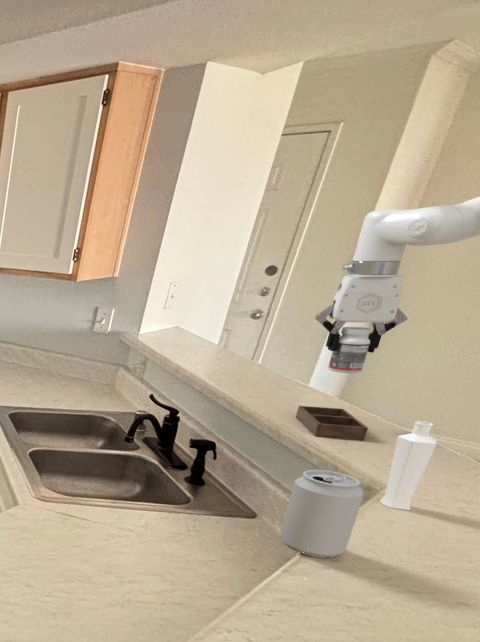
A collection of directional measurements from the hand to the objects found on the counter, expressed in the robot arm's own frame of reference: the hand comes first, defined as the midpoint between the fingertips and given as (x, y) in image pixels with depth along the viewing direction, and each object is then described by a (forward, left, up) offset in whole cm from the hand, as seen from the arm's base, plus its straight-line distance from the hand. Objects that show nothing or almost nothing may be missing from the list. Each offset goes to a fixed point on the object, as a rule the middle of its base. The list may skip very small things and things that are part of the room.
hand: (350, 350), depth 135 cm
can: (+20, +73, -19) cm, 78 cm away
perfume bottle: (+3, +49, -19) cm, 53 cm away
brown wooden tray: (+1, +2, -18) cm, 19 cm away
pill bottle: (0, 0, -5) cm, 5 cm away
